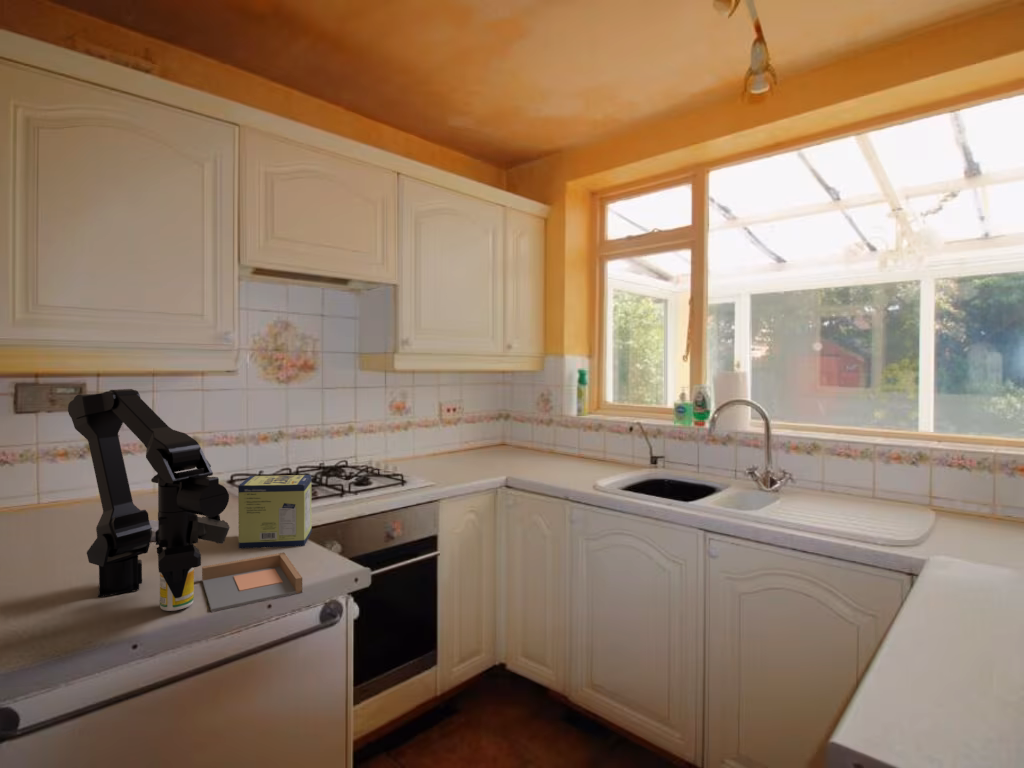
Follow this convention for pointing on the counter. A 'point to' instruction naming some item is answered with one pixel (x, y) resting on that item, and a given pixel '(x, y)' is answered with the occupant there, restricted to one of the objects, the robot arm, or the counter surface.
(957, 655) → the counter surface
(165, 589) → the supplement bottle
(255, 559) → the tray
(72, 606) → the counter surface
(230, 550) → the counter surface
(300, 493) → the protein box
